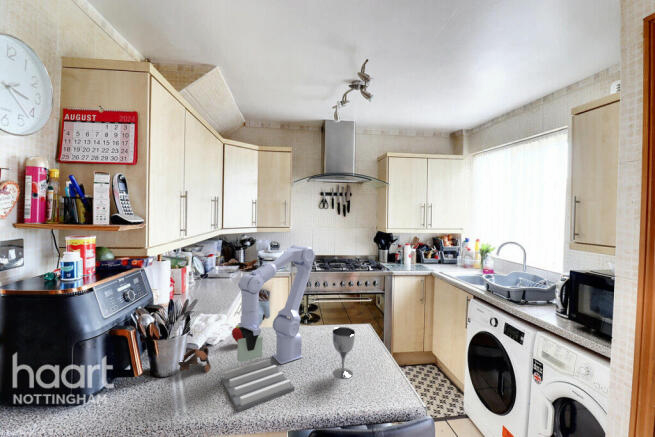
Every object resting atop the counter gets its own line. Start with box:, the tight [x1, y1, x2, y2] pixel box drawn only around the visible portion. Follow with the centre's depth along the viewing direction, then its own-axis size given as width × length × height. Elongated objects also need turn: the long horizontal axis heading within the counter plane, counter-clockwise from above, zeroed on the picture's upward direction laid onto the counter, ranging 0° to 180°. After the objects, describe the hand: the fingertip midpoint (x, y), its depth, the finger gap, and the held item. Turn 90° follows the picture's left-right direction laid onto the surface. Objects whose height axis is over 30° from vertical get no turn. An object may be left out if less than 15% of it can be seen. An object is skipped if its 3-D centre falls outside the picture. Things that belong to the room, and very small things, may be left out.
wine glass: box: [331, 326, 356, 380], centre depth 101 cm, size 8×8×15 cm
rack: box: [220, 358, 295, 413], centre depth 93 cm, size 18×18×3 cm
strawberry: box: [231, 324, 243, 344], centre depth 121 cm, size 6×8×10 cm
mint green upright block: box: [236, 334, 264, 364], centre depth 99 cm, size 8×2×7 cm, turn 124°
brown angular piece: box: [178, 345, 211, 374], centre depth 103 cm, size 12×10×8 cm
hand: (249, 348), depth 99 cm, fingers closed on mint green upright block, 2 cm apart
